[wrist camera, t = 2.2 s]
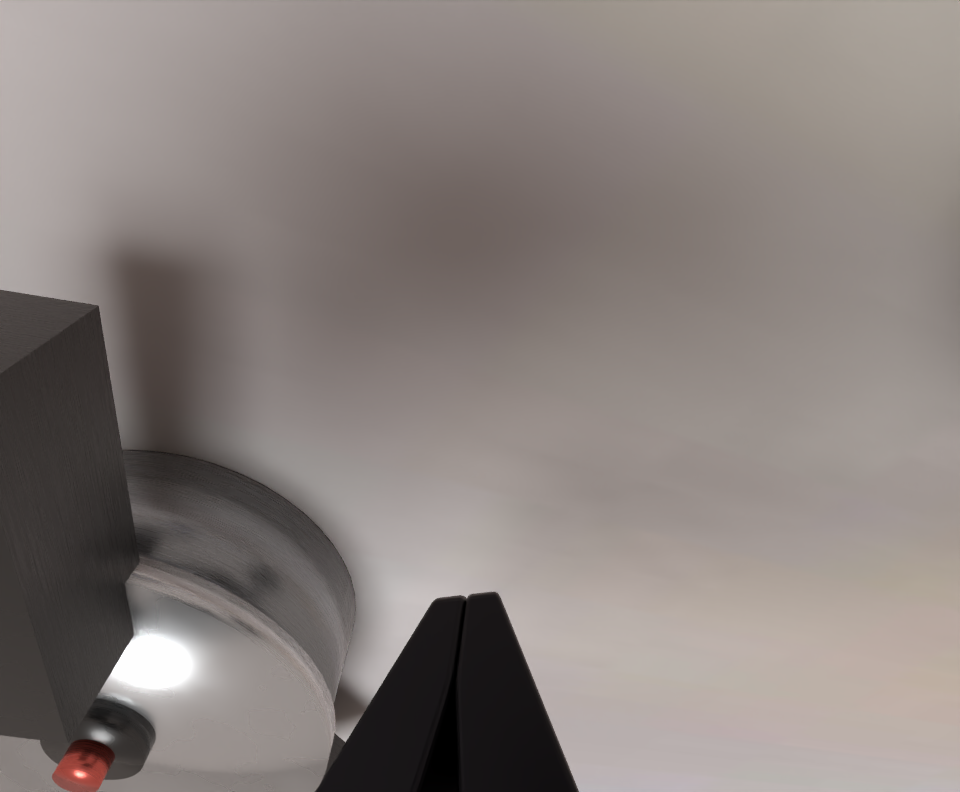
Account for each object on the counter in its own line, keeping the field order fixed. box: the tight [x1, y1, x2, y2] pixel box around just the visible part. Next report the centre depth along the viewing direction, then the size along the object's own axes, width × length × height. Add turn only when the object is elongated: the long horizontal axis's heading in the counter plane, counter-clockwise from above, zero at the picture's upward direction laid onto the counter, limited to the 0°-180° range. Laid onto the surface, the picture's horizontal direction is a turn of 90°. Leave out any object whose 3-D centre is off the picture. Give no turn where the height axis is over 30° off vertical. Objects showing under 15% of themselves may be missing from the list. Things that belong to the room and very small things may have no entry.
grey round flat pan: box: [122, 450, 356, 792], centre depth 23 cm, size 25×14×4 cm, turn 31°
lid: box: [0, 290, 336, 792], centre depth 18 cm, size 22×15×4 cm, turn 171°
